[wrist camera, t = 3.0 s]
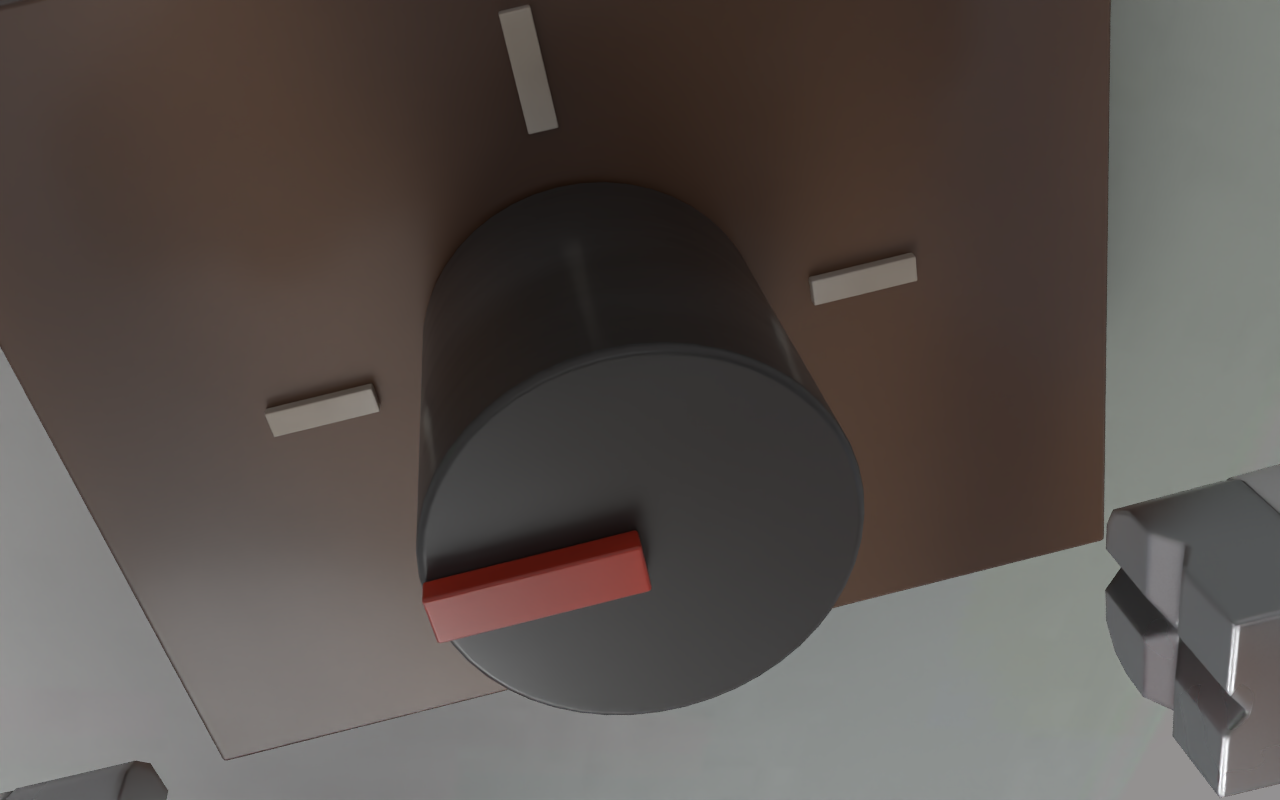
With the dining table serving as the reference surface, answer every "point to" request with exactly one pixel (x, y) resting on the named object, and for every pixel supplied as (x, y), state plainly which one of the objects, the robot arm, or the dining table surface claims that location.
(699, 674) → the dial
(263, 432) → the panel
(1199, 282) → the dining table surface
